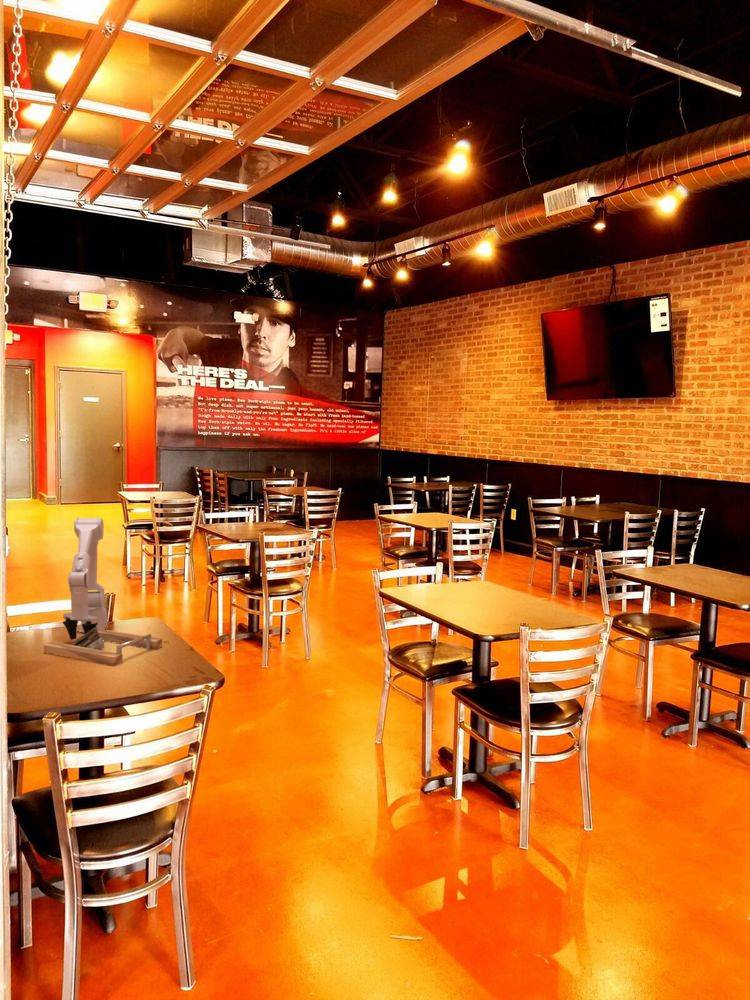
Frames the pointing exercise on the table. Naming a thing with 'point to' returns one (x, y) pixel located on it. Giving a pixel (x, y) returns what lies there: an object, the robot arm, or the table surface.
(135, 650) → the table surface
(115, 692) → the table surface
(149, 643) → the hook bar
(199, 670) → the table surface
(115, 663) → the shelf board
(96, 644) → the chocolate cake
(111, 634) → the shelf board
